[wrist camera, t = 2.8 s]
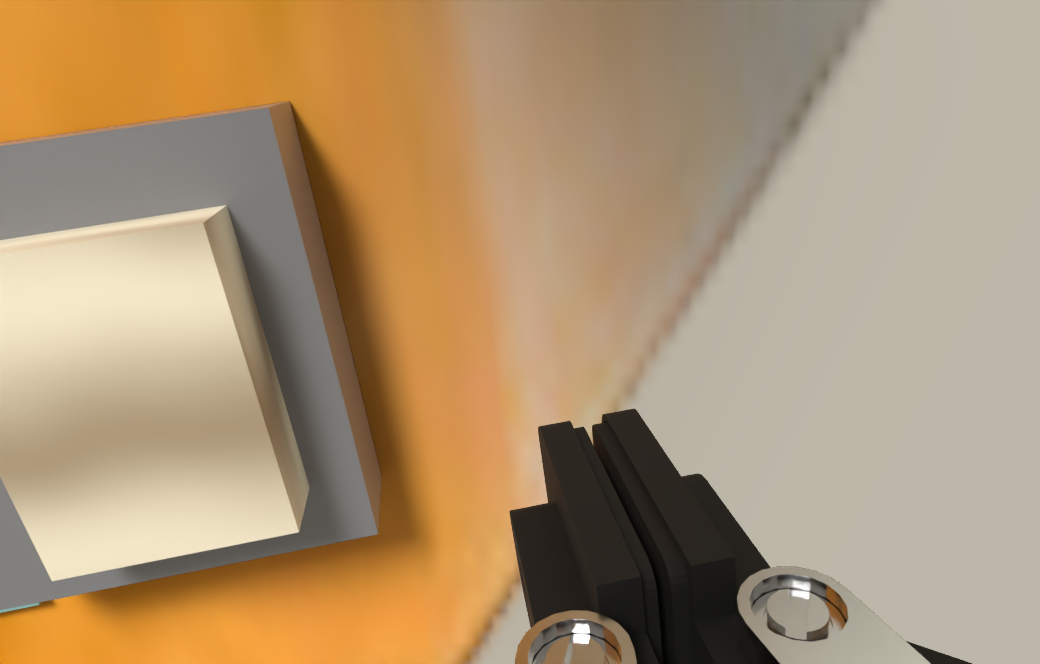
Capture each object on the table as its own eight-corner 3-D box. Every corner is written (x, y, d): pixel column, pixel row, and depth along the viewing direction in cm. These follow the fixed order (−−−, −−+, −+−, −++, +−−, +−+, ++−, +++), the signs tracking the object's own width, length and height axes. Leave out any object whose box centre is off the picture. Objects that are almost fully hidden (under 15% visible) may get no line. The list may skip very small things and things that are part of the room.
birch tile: (-42, 246, 16) (-102, 270, 14) (226, 205, 16) (203, 222, 14) (87, 530, 19) (51, 581, 17) (309, 487, 19) (298, 532, 17)
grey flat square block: (-150, 163, 17) (-257, 182, 15) (289, 101, 18) (268, 107, 16) (37, 544, 22) (-17, 613, 19) (382, 477, 23) (378, 534, 20)
